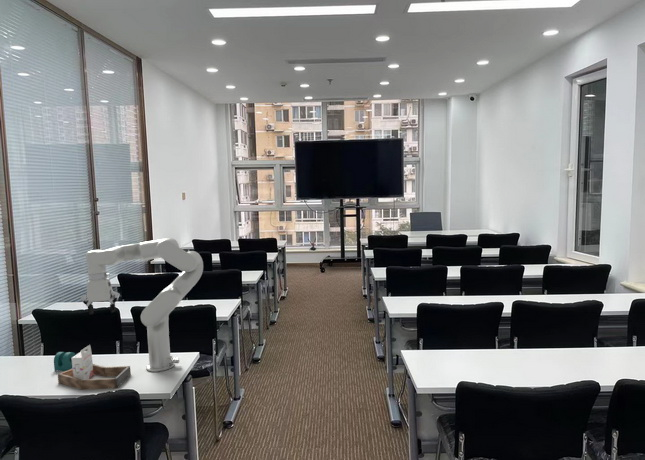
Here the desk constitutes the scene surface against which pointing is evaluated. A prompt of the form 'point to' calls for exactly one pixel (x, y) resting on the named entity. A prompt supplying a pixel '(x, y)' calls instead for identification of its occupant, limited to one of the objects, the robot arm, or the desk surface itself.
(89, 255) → the robot arm
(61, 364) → the bracket
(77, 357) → the ink cartridge box
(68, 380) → the brown angled open frame
